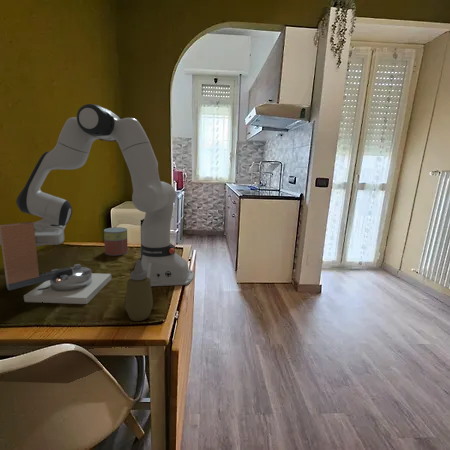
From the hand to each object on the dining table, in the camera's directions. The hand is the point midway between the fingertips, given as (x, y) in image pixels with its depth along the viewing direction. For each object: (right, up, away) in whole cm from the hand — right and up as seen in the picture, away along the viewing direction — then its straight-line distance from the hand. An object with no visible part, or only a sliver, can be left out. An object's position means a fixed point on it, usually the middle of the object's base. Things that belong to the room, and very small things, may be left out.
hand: (18, 243), depth 87 cm
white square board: (+12, -17, +9) cm, 23 cm away
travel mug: (+29, -10, +47) cm, 56 cm away
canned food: (+11, -8, +52) cm, 54 cm away
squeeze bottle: (+41, -22, -6) cm, 47 cm away
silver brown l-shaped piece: (+9, -16, +4) cm, 18 cm away
